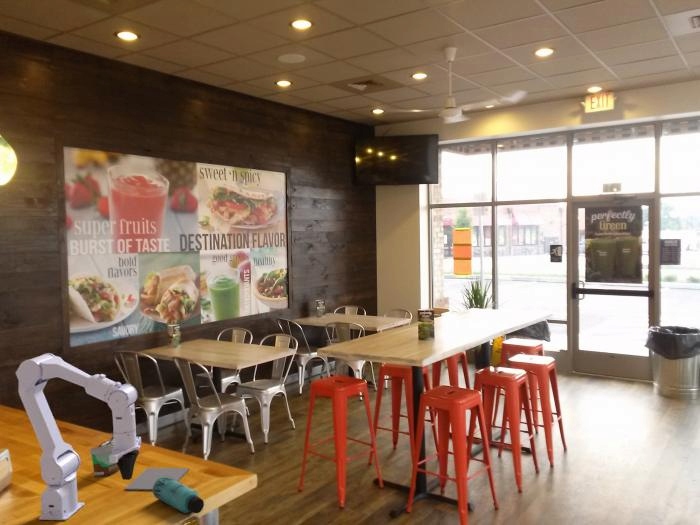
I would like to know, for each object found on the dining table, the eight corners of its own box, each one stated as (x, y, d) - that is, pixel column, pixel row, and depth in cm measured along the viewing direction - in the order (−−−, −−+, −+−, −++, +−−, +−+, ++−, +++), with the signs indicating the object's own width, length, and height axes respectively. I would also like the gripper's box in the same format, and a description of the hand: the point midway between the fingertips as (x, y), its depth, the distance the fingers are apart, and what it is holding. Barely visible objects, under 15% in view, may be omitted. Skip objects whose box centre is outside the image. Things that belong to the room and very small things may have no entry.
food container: (109, 480, 186) (107, 448, 185) (91, 479, 187) (89, 448, 187) (131, 464, 198) (129, 435, 197) (114, 463, 199) (113, 434, 199)
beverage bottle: (172, 482, 176) (213, 502, 163) (156, 502, 172) (196, 523, 159) (160, 469, 173) (200, 488, 160) (144, 488, 169) (184, 509, 156)
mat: (169, 490, 177) (169, 489, 177) (124, 490, 178) (124, 488, 178) (188, 469, 192) (188, 468, 192) (147, 469, 194) (147, 467, 194)
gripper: (125, 439, 155) (128, 490, 156) (150, 421, 170) (152, 468, 170) (100, 439, 156) (103, 489, 157) (126, 421, 170) (129, 467, 171)
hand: (127, 478), depth 164 cm, fingers closed
